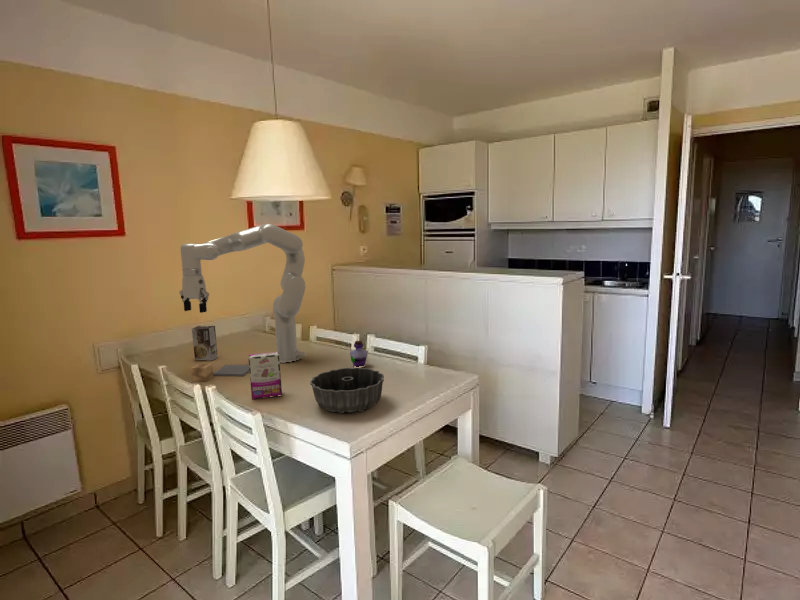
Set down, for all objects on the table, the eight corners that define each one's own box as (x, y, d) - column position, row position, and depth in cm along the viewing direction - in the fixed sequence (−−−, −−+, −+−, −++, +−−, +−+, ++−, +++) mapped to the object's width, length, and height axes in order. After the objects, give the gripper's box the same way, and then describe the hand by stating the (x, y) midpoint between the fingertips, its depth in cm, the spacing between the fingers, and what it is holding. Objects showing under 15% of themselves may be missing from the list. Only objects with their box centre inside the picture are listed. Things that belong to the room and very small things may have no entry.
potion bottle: (346, 368, 212) (345, 342, 210) (355, 362, 220) (355, 337, 218) (362, 370, 208) (362, 344, 206) (372, 364, 216) (371, 339, 214)
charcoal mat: (255, 367, 216) (255, 365, 216) (243, 376, 203) (243, 374, 203) (226, 366, 217) (225, 364, 217) (212, 375, 205) (212, 373, 204)
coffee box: (218, 357, 234) (215, 325, 231) (212, 360, 227) (209, 328, 225) (200, 357, 235) (198, 325, 232) (194, 360, 228) (191, 328, 226)
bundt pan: (295, 409, 166) (294, 382, 164) (344, 387, 188) (343, 363, 186) (353, 425, 151) (352, 396, 150) (399, 399, 173) (398, 373, 171)
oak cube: (213, 377, 203) (212, 363, 202) (206, 381, 197) (205, 368, 196) (199, 377, 204) (198, 363, 203) (192, 381, 198) (191, 368, 197)
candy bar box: (281, 392, 183) (279, 351, 181) (282, 396, 178) (279, 354, 176) (251, 395, 180) (248, 353, 178) (251, 399, 176) (248, 357, 173)
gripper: (213, 272, 202) (216, 311, 205) (185, 270, 210) (189, 308, 212) (198, 273, 195) (202, 314, 198) (171, 272, 203) (174, 311, 206)
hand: (195, 311), depth 205 cm, fingers open, 9 cm apart
